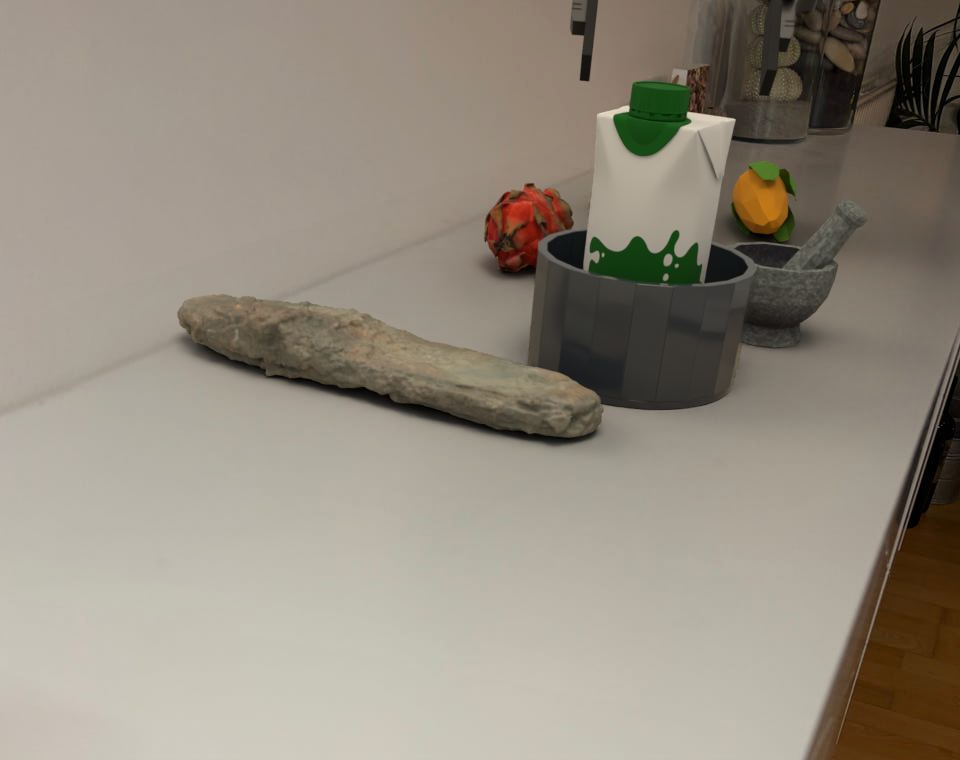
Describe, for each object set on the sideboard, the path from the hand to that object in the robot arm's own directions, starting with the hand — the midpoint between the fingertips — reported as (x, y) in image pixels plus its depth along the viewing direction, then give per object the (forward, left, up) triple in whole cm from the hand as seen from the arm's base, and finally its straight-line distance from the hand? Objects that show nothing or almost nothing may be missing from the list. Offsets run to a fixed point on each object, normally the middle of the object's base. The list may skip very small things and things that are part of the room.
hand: (676, 76), depth 81 cm
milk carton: (-1, +7, -20) cm, 21 cm away
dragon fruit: (+16, -16, -21) cm, 31 cm away
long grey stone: (+15, +20, -21) cm, 32 cm away
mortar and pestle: (-10, -8, -21) cm, 24 cm away
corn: (-3, -47, -21) cm, 52 cm away
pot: (-1, +7, -20) cm, 21 cm away
